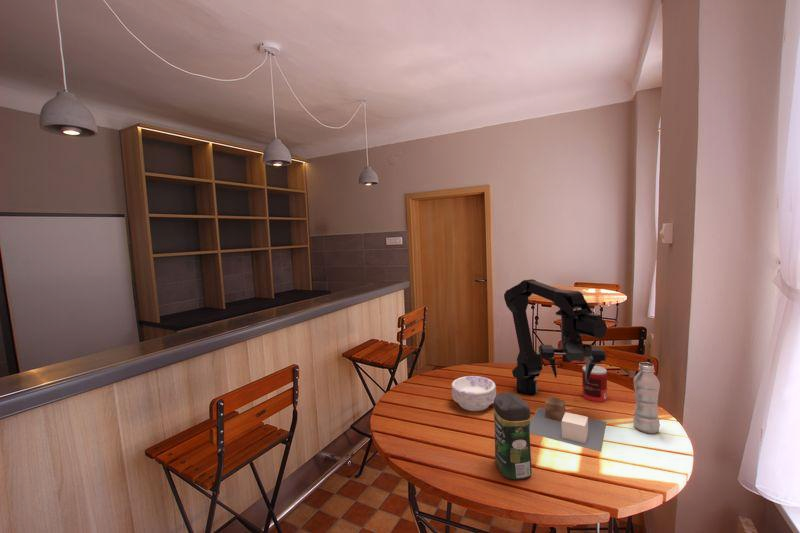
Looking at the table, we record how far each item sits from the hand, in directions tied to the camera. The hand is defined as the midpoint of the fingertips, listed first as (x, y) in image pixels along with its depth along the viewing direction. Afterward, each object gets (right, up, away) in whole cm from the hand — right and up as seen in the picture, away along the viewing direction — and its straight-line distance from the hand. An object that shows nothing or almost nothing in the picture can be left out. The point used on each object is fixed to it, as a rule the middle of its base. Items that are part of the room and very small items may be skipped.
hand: (571, 378), depth 114 cm
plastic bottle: (+17, -13, -10) cm, 24 cm away
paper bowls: (-29, -13, +11) cm, 34 cm away
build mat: (-5, -13, -7) cm, 15 cm away
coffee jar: (-26, -15, -24) cm, 39 cm away
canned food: (+14, -11, +12) cm, 22 cm away
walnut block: (-5, -12, 0) cm, 13 cm away
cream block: (-4, -13, -12) cm, 18 cm away
